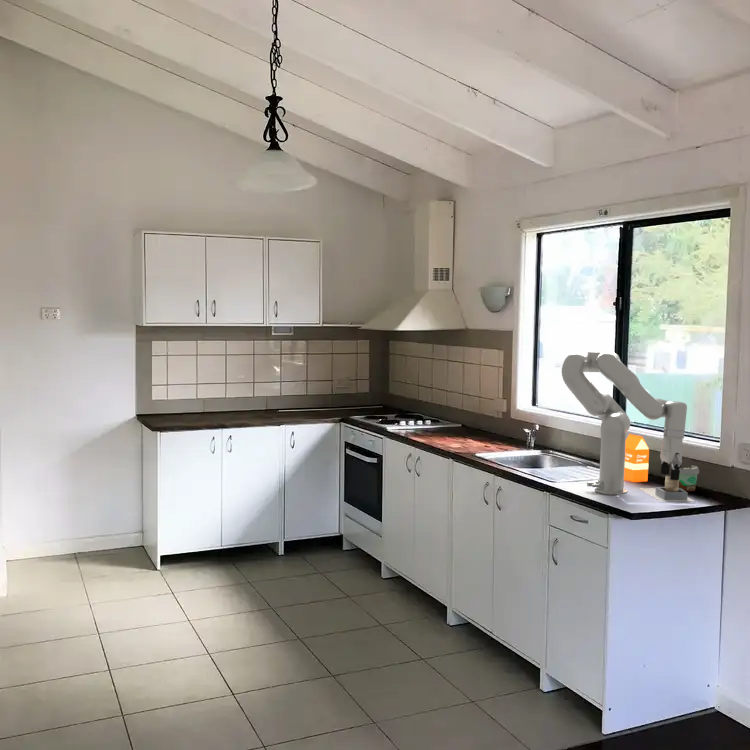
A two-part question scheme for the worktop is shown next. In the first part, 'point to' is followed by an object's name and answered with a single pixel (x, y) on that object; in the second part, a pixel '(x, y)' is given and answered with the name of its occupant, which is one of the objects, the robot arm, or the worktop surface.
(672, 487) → the plug
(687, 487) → the food container
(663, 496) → the grey square tray
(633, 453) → the orange juice
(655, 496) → the board
